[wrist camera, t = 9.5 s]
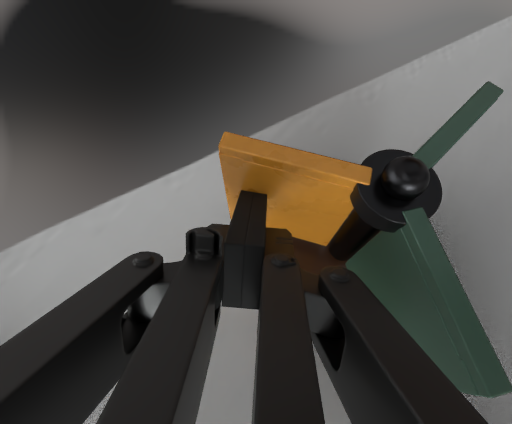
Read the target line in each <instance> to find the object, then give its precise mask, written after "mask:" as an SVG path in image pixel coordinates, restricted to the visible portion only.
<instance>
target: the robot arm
mask: <svg viewBox="0 0 512 424" xmlns="http://www.w3.org/2000/svg"><path fill="white" fill-rule="evenodd" d="M266 213H267V194H262V193H256V192H250V191H244V190H241V191H240V194H239V197H238V200H237V203H236V207H235V210H234V213H233V216H232V219H231V222H230V225H222V224H211V225H209V226H208V227H200V228H194V229H192V230H189V231H188V232H187V233H186V255H185V257H184V259H183V260H182V261H179V262H172V263H163V257H162V256H161V255H160V254H157V253H154V252H139V253H136V254H133V255H131V256H129V257H127V258H125V259H124V260H123V261H121V262H120V263H118V264H117V265H115V266H114V267H113V268H111V269H110V270H108V271H107V272H105V273H104V274H103V275H101V276H100V277H98V278H97V279H95V280H94V281H93V282H91V283H90V284H88V285H87V286H85V287H84V288H83V289H81V290H80V291H78V292H77V293H75V294H74V295H73V296H71V297H70V298H68V299H67V300H65V301H64V302H63V303H61V304H60V305H58V306H57V307H55V308H54V309H53V310H51V311H50V312H48V313H47V314H45V315H44V316H43V317H41V318H40V319H38V320H37V321H35V322H34V323H33V324H31V325H30V326H28V327H27V328H25V329H24V330H23V331H21V332H20V333H18V334H17V335H15V336H14V337H13V338H11V339H10V340H8V341H7V342H5V343H4V344H3V345H1V346H0V424H83V423H84V421H85V420H86V419H87V418H88V417H89V415H90V414H91V413H92V412H93V410H94V409H95V408H96V407H97V406H98V404H99V403H100V402H101V401H102V400H103V398H104V397H105V396H106V395H107V394H108V392H109V391H110V390H111V389H112V388H113V386H114V385H115V384H116V383H117V382H118V383H117V385H116V387H115V389H114V391H113V393H112V395H111V396H110V398H109V400H108V402H107V404H106V406H105V408H104V410H103V411H102V413H101V415H100V417H99V419H98V421H97V423H96V424H195V422H196V418H197V414H198V409H199V405H200V401H201V396H202V392H203V388H204V383H205V379H206V375H207V370H208V366H209V362H210V357H211V353H212V349H213V344H214V340H215V336H216V331H217V327H218V322H219V318H220V306H221V300H222V306H224V307H236V308H247V309H259V316H258V328H257V347H256V363H255V379H254V394H253V410H252V424H325V420H324V414H323V408H322V402H321V395H320V389H319V383H318V377H317V370H316V364H315V358H314V351H313V345H312V341H313V343H314V346H315V348H316V350H317V352H318V354H319V356H320V358H321V360H322V362H323V364H324V367H325V369H326V371H327V373H328V375H329V377H330V379H331V381H332V383H333V385H334V388H335V390H336V392H337V394H338V396H339V398H340V400H341V402H342V404H343V406H344V409H345V411H346V413H347V415H348V417H349V419H350V421H351V423H352V424H488V423H487V422H486V421H485V420H484V418H483V417H482V416H481V415H480V414H479V413H478V412H477V410H476V409H475V408H474V407H473V406H472V405H471V404H470V403H469V401H468V400H467V399H466V398H465V397H464V396H463V395H462V393H461V392H460V391H459V390H458V389H457V388H456V387H455V386H454V384H453V383H452V382H451V381H450V380H449V379H448V378H447V376H446V375H445V374H444V373H443V372H442V371H441V370H440V369H439V367H438V366H437V365H436V364H435V363H434V362H433V361H432V360H431V358H430V357H429V356H428V355H427V354H426V353H425V352H424V350H423V349H422V348H421V347H420V346H419V345H418V344H417V343H416V341H415V340H414V339H413V338H412V337H411V336H410V335H409V333H408V332H407V331H406V330H405V329H404V328H403V327H402V326H401V324H400V323H399V322H398V321H397V320H396V319H395V318H394V316H393V315H392V314H391V313H390V312H389V311H388V310H387V309H386V307H385V306H384V305H383V304H382V303H381V302H380V301H379V299H378V298H377V297H376V296H375V295H374V294H373V293H372V292H371V290H370V289H369V288H368V287H367V286H366V285H365V284H364V283H363V281H362V280H361V279H360V278H359V277H358V276H357V275H356V274H355V273H354V272H353V271H351V270H348V269H346V268H344V267H341V266H328V267H324V268H323V269H321V271H320V275H319V274H315V273H311V272H308V271H306V270H304V269H302V268H301V267H300V263H299V261H298V259H297V258H295V254H294V247H293V240H292V234H291V233H290V232H289V231H288V230H287V229H282V228H270V227H266ZM126 310H128V311H127V312H126V313H125V314H124V312H125V311H126ZM118 380H119V381H118Z"/></svg>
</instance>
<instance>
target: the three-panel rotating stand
mask: <svg viewBox="0 0 512 424" xmlns="http://www.w3.org/2000/svg"><path fill="white" fill-rule="evenodd" d="M502 93H503V90H502V89H501V88H499V87H497V86H496V85H494V84H492V83H491V82H486V83H485V84H484V85H483V86H482V87H481V88H480V89H479V90H478V91H477V92H476V93H475V94H474V95H473V96H472V97H471V98H470V99H469V100H468V101H467V102H466V103H465V104H464V105H463V106H462V107H461V108H460V109H459V110H458V111H457V112H456V113H455V114H454V115H453V116H452V117H451V118H450V119H449V120H448V121H447V122H446V123H445V124H444V125H443V126H442V127H441V128H440V129H439V130H438V131H437V132H436V133H435V134H434V135H433V136H432V137H431V138H430V139H429V140H428V141H427V142H426V143H425V144H424V145H423V146H422V147H421V148H420V149H419V150H418V151H417V152H416V153H415V154H412V153H409V152H406V151H402V150H394V149H390V150H382V151H378V152H376V153H374V154H372V155H370V156H368V157H367V158H366V159H365V160H364V161H363V162H362V164H361V165H359V164H355V163H351V162H347V161H343V160H339V159H335V158H331V157H326V156H322V155H318V154H314V153H310V152H306V151H302V150H298V149H294V148H290V147H286V146H282V145H278V144H274V143H270V142H266V141H262V140H258V139H253V138H249V137H245V136H241V135H237V134H233V133H229V132H224V134H223V136H222V138H221V141H220V143H219V157H220V163H221V168H222V174H223V179H224V185H225V190H226V196H227V201H228V207H229V212H230V218H231V219H232V216H233V213H234V210H235V207H236V203H237V200H238V197H239V194H240V191H241V190H244V191H250V192H256V193H262V194H267V213H266V227H270V228H282V229H287V230H288V231H289V232H290V233H291V234H292V237H295V238H299V239H302V240H306V241H309V242H313V243H317V244H320V245H324V246H327V244H328V243H329V242H330V240H331V239H332V238H333V239H332V240H331V242H330V244H329V251H330V253H331V255H332V256H333V257H334V258H335V259H337V260H340V261H347V260H348V261H347V262H346V263H345V265H346V268H347V269H348V270H351V271H353V272H354V273H355V274H356V275H357V276H358V277H359V278H360V279H361V280H362V281H363V283H364V284H365V285H366V286H367V287H368V288H369V289H370V290H371V292H372V293H373V294H374V295H375V296H376V297H377V298H378V299H379V301H380V302H381V303H382V304H383V305H384V306H385V307H386V309H387V310H388V311H389V312H390V313H391V314H392V315H393V316H394V318H395V319H396V320H397V321H398V322H399V323H400V324H401V326H402V327H403V328H404V329H405V330H406V331H407V332H408V333H409V335H410V336H411V337H412V338H413V339H414V340H415V341H416V343H417V344H418V345H419V346H420V347H421V348H422V349H423V350H424V352H425V353H426V354H427V355H428V356H429V357H430V358H431V360H432V361H433V362H434V363H435V364H436V365H437V366H438V367H439V369H440V370H441V371H442V372H443V373H444V374H445V375H446V376H447V378H448V379H449V380H450V381H451V382H452V383H453V384H454V386H455V387H456V388H457V389H458V390H459V391H460V392H462V393H466V394H471V395H475V396H483V397H488V398H494V397H497V396H501V395H504V394H507V393H510V392H512V385H511V383H510V381H509V379H508V377H507V375H506V373H505V371H504V369H503V367H502V365H501V363H500V361H499V359H498V357H497V355H496V353H495V351H494V349H493V347H492V345H491V343H490V341H489V339H488V337H487V335H486V333H485V331H484V329H483V327H482V325H481V323H480V321H479V319H478V317H477V315H476V313H475V311H474V309H473V307H472V305H471V303H470V301H469V299H468V297H467V295H466V293H465V291H464V289H463V287H462V285H461V283H460V281H459V279H458V277H457V275H456V273H455V271H454V269H453V267H452V265H451V263H450V261H449V259H448V257H447V255H446V253H445V251H444V249H443V247H442V245H441V243H440V241H439V239H438V237H437V235H436V233H435V231H434V229H433V227H432V225H431V223H430V221H429V219H428V218H430V217H431V216H432V215H433V214H434V213H435V212H436V211H437V209H438V207H439V205H440V203H441V199H442V188H441V183H440V180H439V178H438V176H437V174H436V173H435V171H434V170H433V169H432V167H433V166H434V165H435V164H436V163H437V162H438V161H439V160H440V159H441V158H442V157H443V156H444V155H445V154H446V153H447V152H448V150H449V149H450V148H451V147H452V146H453V145H454V144H455V143H456V142H457V141H458V140H459V139H460V138H461V137H462V136H463V135H464V134H465V133H466V132H467V131H468V130H469V129H470V128H471V126H472V125H473V124H474V123H475V122H476V121H477V120H478V119H479V118H480V117H481V116H482V115H483V114H484V113H485V112H486V111H487V110H488V109H489V108H490V107H491V106H492V105H493V104H494V103H495V101H496V100H497V99H498V97H499V96H500V95H501V94H502ZM353 208H354V210H353ZM352 210H353V211H352ZM351 211H352V213H351ZM350 213H351V214H350ZM349 214H350V216H349V217H348V215H349ZM347 217H348V218H347ZM346 218H347V220H346ZM345 220H346V221H345ZM344 221H345V222H344ZM343 222H344V224H343ZM342 224H343V225H342ZM341 225H342V226H341ZM340 226H341V228H340ZM339 228H340V229H339ZM338 229H339V231H338ZM337 231H338V232H337ZM336 232H337V233H336ZM335 233H336V235H335ZM334 235H335V236H334ZM333 236H334V237H333Z"/></svg>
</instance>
